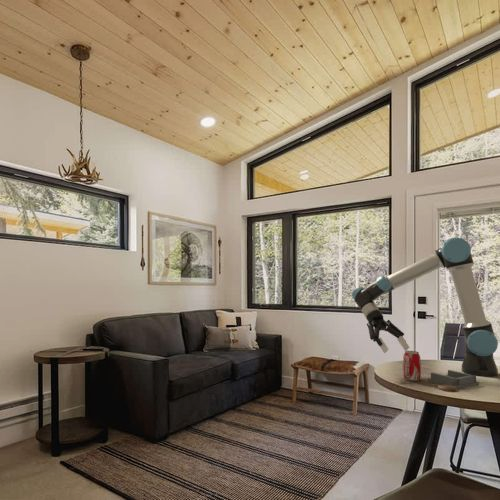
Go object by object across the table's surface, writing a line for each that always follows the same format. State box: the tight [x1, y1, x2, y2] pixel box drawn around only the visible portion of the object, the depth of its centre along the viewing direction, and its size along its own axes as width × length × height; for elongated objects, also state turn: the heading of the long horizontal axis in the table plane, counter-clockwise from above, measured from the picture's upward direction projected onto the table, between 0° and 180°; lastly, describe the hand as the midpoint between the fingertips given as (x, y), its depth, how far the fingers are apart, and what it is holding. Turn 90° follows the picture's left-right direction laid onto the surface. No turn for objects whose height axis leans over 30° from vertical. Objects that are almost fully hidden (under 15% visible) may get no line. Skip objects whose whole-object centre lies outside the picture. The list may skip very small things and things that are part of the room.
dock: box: [427, 369, 480, 390], centre depth 170 cm, size 14×14×4 cm
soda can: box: [402, 350, 422, 382], centre depth 176 cm, size 7×7×12 cm
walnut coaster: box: [437, 384, 458, 393], centre depth 161 cm, size 7×7×1 cm
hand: (397, 350), depth 183 cm, fingers open, 13 cm apart
